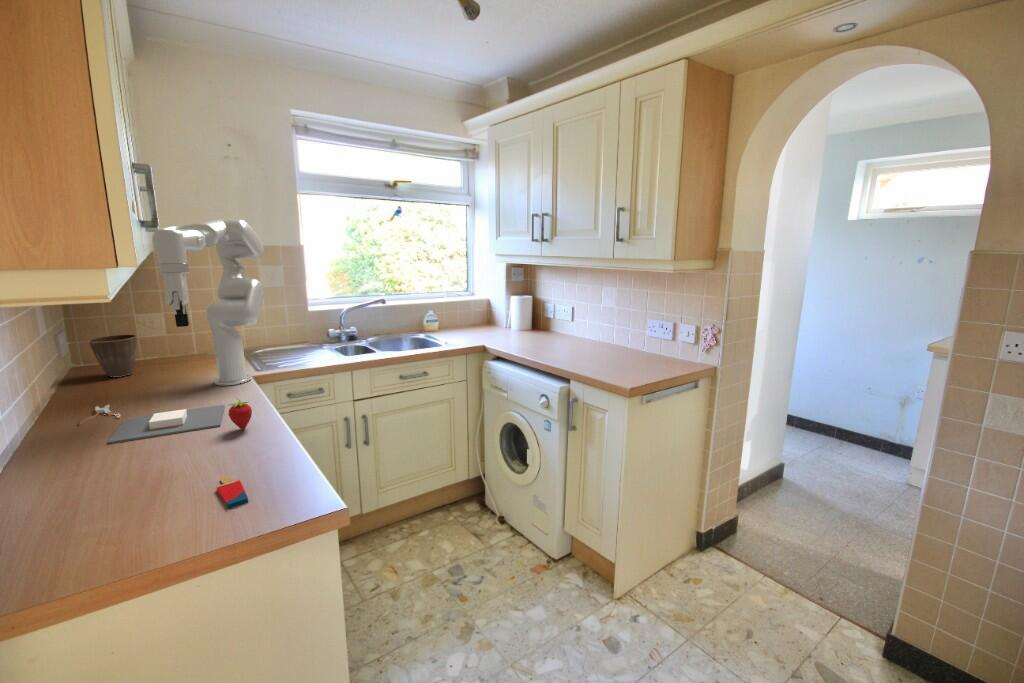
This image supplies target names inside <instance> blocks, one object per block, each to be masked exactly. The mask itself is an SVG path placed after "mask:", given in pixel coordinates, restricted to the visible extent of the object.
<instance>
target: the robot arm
mask: <svg viewBox="0 0 1024 683" xmlns="http://www.w3.org/2000/svg"><path fill="white" fill-rule="evenodd" d="M156 230H157V231H156ZM156 230H155V231H154V232H153V235H152V238H151V239H152V240H151V242H152V245H153V246H154V248H155V251H156V257H157V261H158V270H159V275H163V284H164V285H163V286H164V295H165V304H166V306H168V307H170V306H172V305H173V310H174V321H175V326H176V327H177V328H182V327H183V328H184V327H188V326H189V325H190V322H189V316H188V311H187V304H188V303H189V292H188V284H187V277H186V275H188V274H190V272H189V269H190V268H189V264H188V257H187V253H192V254H193V253H194V254H195V253H199V252H201V251H202V250H204V249H205V248H209V247H215V250H216V253H217V256H218V258H219V261H220V263H221V267H222V272H221V273H222V274H221V278H220V281H219V284H218V288H217V297H218V299H219V301H215V302H213V303H210V304H209V305H208V306H207V308H206V311H205V313H206V318H207V320H208V324H209V326H210V330H211V334H212V340H213V346H214V353H215V359H216V368H217V375H218V377H217V378H216V379H214V384H215V385H217V386H222V387H223V386H235V385H241V384H245V383H248V382H250V381H251V380H252V375H250V374H247V366H246V360H245V351H244V344H243V343H244V342H243V336H242V335H241V333H240V331H239V330H238V329H237V328H236V327H251V326H254V325H256V324H257V323H258V321H259V318H260V314H261V310H262V305H263V300H264V296H265V294H264V293H265V292H264V287H263V286H264V285H263V284H262V282H261V281H260V280H258V279H256V278H248V270H247V269H246V267H245V266H244V265H243V264H242V263H241V262H240V261H239V260H238V259H258V258H260V257H262V256H263V254H264V252H265V251H264V250H265V249H264V244H263V242H262V240H261V239H260V237H259V235H258V234H257V233H256V232H255V230H254V229H253V227H252V226H251V225H250V224H249V223H248V222H246V220H243V219H236V218H235V219H233V218H232V219H229V218H227V219H226V218H223V219H222V218H221V219H219V218H218V219H211V220H208V221H203V222H197V223H190V224H185V225H177V226H175V225H174V226H168V227H163V228H158V229H156ZM249 380H250V381H249ZM247 381H248V382H247ZM244 382H245V383H244ZM240 383H241V384H240Z"/></svg>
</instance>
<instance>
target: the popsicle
mask: <svg viewBox="0 0 1024 683" xmlns="http://www.w3.org/2000/svg"><path fill="white" fill-rule="evenodd" d="M219 480H220V482H221V484H219V485H217V486H216V491H217V494H219V497H220V498H221V500H222V502H223V503H224V505H225V507H226V508H227V509H228V510H231V509H233V508H236V507H239V506H243V505H245V504H249V497H248V495H247V492H246V490H245V488H244V486H243V484H242V482H241V480H240V479H236V480H232V479H231V477H230V476H229V475H225V476H222V477H220V478H219Z"/></svg>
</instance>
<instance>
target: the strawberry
mask: <svg viewBox="0 0 1024 683" xmlns="http://www.w3.org/2000/svg"><path fill="white" fill-rule="evenodd" d="M234 398H236V399H237V400H238V402H237V403H236V402H234V403H229V404H227V406H230V408H229V410H228V418H229V419H230V421H231V422H232V423H233V424H234V425H236V427H238V428H239V429H240V430H242V431H244V430H245V429H246V427H247V426H248V424H249V422H250V420H251V418H252V415H253V414H252V412H253V409H252V407H251V406H250V404H248V401H242V400H240V399H239V398H237V397H234Z"/></svg>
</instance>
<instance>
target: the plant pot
mask: <svg viewBox="0 0 1024 683" xmlns="http://www.w3.org/2000/svg"><path fill="white" fill-rule="evenodd" d="M137 338H138V336H137V335H135V334H117V335H108V336H102V337H96V338H92V339H90V340H88V343H89V345H90V348H91V350H92V352H93V354H94V356H95V358H96V360H97V362H98V364H99V365H100V366H101V369H102V370H103V372H104V373H105V374H106V375H107V376H112V377H113V376H122V375H127V374H130V373H132V372H134V369H135V365H136V364H135V363H136V357H137V350H138V349H137V346H138V343H137V342H138V339H137ZM132 374H133V373H132Z"/></svg>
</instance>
